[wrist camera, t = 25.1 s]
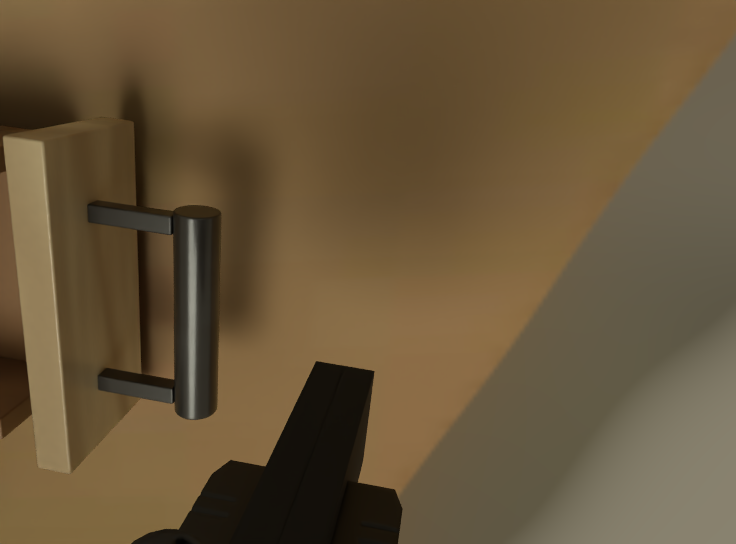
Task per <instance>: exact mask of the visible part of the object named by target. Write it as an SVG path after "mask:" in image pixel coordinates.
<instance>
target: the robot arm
mask: <svg viewBox="0 0 736 544" xmlns="http://www.w3.org/2000/svg"><path fill="white" fill-rule="evenodd" d="M373 378H374V371H371V370H365V369H359V368H353V367H347V366H341V365H335V364H330V363H324V362H318V361H316V363H315V365H314V367H313V369H312V371H311V373H310V375H309V377H308V379H307V381H306V383H305V386H304V388H303V390H302V392H301V394H300V396H299V398H298V400H297V402H296V404H295V406H294V409H293V411H292V413H291V415H290V417H289V419H288V421H287V423H286V425H285V427H284V429H283V432H282V434H281V436H280V438H279V440H278V442H277V444H276V446H275V448H274V450H273V452H272V455H271V457H270V459H269V461H268V463H267V465H266V467H265V466H259V465H254V464H249V463H243V462H238V461H233V460H230V461H229V462H228V463H226V464H225V465H223V466H222V467H221V468H219V469H218V470H217V471H215V472H214V473H213V474H212V475H211V477H210V478H209V480H208V482H207V483H206V485H205V487H204V488H203V490H202V492H201V495H200V496H199V497H198V498H197V500H196V502H195V503H194V505H193V507H192V510H191V511H190V512H189V513H188V515H187V517H186V518H185V520H184V522H183V523H182V525H181V527H180V528H179V530H177V529H164V530H159V531H155V532H151V533H148V534H146V535H144V536H142V537H141V538H139V539H137V540H135V541H134V542H133V543H132V544H398V538H399V531H400V524H401V516H402V507H401V504H400V501H399V499H398V496H397V494H396V491H395V490H394V489H389V488H384V487H379V486H373V485H368V484H363V483H358V479H359V475H360V471H361V467H362V463H363V457H364V449H365V441H366V433H367V425H368V417H369V410H370V402H371V394H372V386H373Z"/></svg>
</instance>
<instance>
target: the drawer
mask: <svg viewBox="0 0 736 544" xmlns="http://www.w3.org/2000/svg"><path fill="white" fill-rule="evenodd" d="M137 230H141V231H147V232H154V233H160V234H167V235H172V234H173V254H174V380H173V379H167V378H161V377H156V376H150V375H145V374H141V346H140V313H139V279H138V246H137ZM220 257H221V212H220V211H219V210H218V209H216V208H213V207H208V206H200V205H189V206H182V207H179V208H176V209H175V210H174V211H167V210H161V209H154V208H147V207H141V206H136V179H135V145H134V122H133V121H129V120H122V119H114V118H107V117H99V118H94V119H88V120H83V121H78V122H72V123H67V124H62V125H57V126H51V127H46V128H41V129H35V130H30V129H23V128H16V127H9V126H2V125H0V439H3V438H4V437H5V436H7V435H8V434H9V433H10V432H11V431H13V430H14V429H15V428H16V427H17V426H18V425H20V424H21V423H22V422H23V421H24V420H26V419H27V418H28V417H29V416H30V415H31V414H32V418H33V428H34V437H35V446H36V456H37V465H38V467H39V468H42V469H47V470H52V471H57V472H62V473H67V474H71V473H72V472H73V471H74V470H75V469H76V468H77V467H78V466H79V464H80V463H81V462H82V461H83V460H84V459H85V458H86V457H87V456H88V455H89V454H90V453H91V452H92V450H93V449H94V448H95V447H96V446H97V445H98V444H99V443H100V442H101V441H102V440H103V439H104V438H105V436H106V435H107V434H108V433H109V432H110V431H111V430H112V429H113V428H114V427H115V426H116V425H117V424H118V422H119V421H120V420H121V419H122V418H123V417H124V416H125V415H126V414H127V413H128V412H129V411H130V410H131V408H132V407H133V406H134V405H135V404H136V403H137V402H138V401H139V400H140V399H141V398H143V399H149V400H154V401H160V402H165V403H170V404H172V403H174V401H175V412H176V413H177V414H178V415H179V416H180V417H182V418H185V419H190V420H198V419H204V418H207V417H209V416H211V415H212V414H213V413H214V412H215V411H216V409H217V394H218V348H219V302H220Z"/></svg>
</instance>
